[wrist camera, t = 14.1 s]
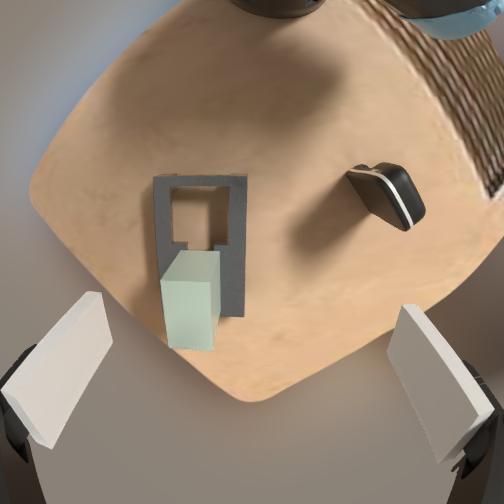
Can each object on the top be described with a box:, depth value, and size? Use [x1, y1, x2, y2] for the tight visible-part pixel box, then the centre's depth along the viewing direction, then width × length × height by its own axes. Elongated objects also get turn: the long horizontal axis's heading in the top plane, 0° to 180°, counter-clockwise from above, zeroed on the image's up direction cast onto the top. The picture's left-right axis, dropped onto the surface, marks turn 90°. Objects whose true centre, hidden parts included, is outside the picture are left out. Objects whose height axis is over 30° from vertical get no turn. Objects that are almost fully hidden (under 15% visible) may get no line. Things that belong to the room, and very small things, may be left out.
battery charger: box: [347, 162, 426, 231], centre depth 31 cm, size 7×4×11 cm, turn 38°
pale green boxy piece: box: [160, 250, 221, 351], centre depth 34 cm, size 8×6×12 cm
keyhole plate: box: [153, 174, 248, 317], centre depth 37 cm, size 18×11×4 cm, turn 178°
